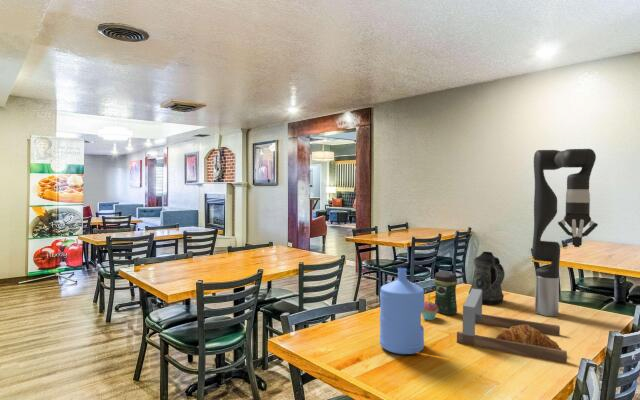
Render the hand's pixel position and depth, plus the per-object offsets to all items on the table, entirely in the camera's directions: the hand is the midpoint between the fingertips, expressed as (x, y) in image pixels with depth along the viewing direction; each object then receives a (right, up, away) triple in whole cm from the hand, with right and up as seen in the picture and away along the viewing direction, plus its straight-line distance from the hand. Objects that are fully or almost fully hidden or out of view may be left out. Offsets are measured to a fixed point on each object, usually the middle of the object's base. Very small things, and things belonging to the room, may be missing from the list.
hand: (576, 246), depth 142 cm
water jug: (-68, -35, -8) cm, 77 cm away
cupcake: (-50, -35, +22) cm, 65 cm away
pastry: (-23, -36, -8) cm, 43 cm away
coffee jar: (-40, -34, +30) cm, 61 cm away
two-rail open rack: (-25, -35, -1) cm, 43 cm away
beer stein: (-11, -34, +49) cm, 61 cm away
